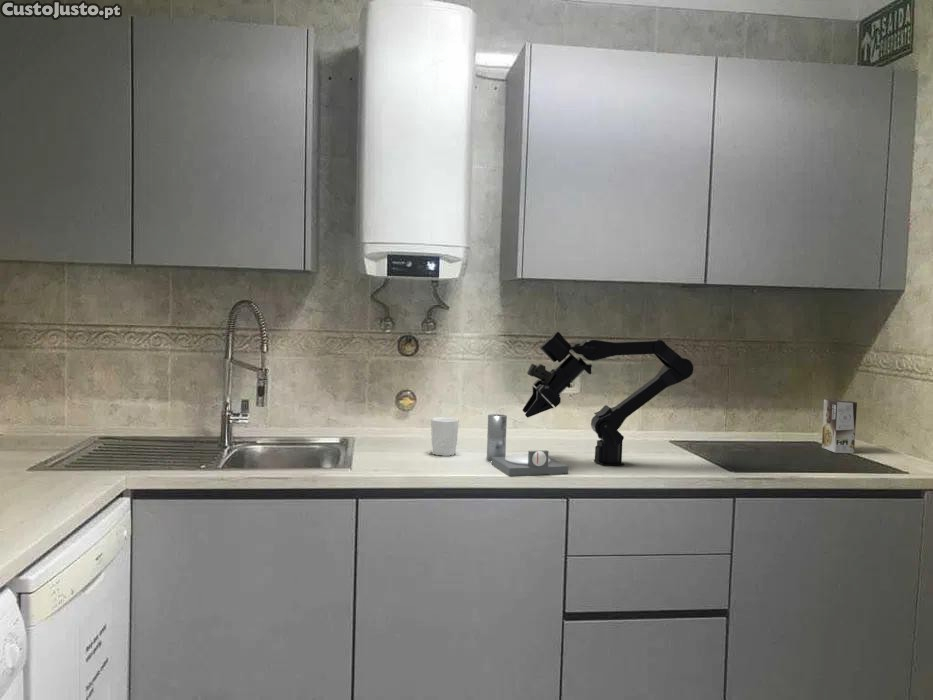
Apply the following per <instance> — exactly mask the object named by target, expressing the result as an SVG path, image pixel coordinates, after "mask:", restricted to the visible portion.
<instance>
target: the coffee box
mask: <svg viewBox="0 0 933 700" xmlns="http://www.w3.org/2000/svg"><path fill="white" fill-rule="evenodd" d="M857 408H858V402H856V401H850V400H847V399H843V398H842V399H839V398H830V399H829V398H824V399H823V412H822V414H823V418H822V437H821V439H822V440H821V448H822V449H824V450H827V451H830V452H833V453H834V454H835V453H837V454H854V453H855V444H856V443H855V442H856V427H857V426H856V424H857V411H858V410H857ZM853 452H854V453H853Z"/></svg>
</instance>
